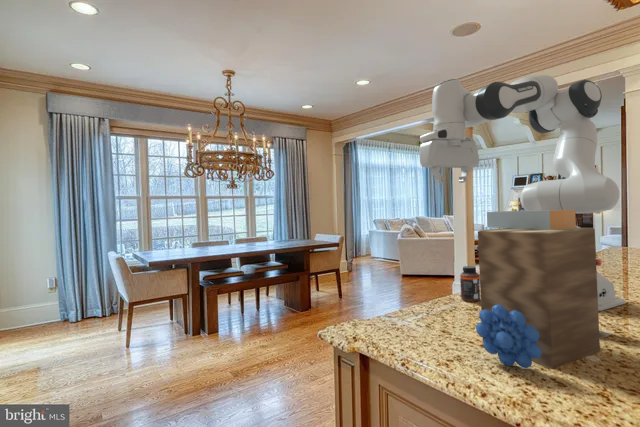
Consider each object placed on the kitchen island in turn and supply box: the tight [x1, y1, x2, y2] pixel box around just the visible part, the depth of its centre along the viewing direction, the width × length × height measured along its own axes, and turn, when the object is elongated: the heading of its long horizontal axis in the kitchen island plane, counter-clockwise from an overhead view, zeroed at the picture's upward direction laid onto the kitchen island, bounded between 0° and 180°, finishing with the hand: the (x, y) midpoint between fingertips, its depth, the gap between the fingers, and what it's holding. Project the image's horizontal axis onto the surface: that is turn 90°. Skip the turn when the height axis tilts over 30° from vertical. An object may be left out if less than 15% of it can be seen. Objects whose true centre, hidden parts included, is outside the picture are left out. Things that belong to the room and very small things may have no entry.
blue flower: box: [475, 304, 542, 369], centre depth 69 cm, size 12×7×12 cm, turn 52°
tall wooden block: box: [477, 227, 601, 369], centre depth 78 cm, size 16×16×26 cm
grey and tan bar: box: [486, 210, 577, 229], centre depth 84 cm, size 19×4×4 cm, turn 25°
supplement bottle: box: [459, 265, 481, 303], centre depth 119 cm, size 6×6×11 cm
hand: (451, 182), depth 104 cm, fingers open, 8 cm apart
